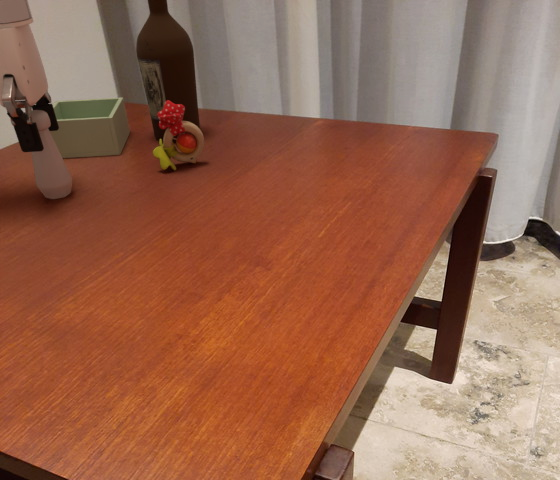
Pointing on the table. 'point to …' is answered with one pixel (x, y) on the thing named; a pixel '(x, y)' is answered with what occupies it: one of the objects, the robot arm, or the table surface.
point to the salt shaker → (49, 162)
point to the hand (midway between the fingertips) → (41, 140)
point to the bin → (90, 127)
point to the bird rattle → (186, 141)
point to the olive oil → (167, 66)
